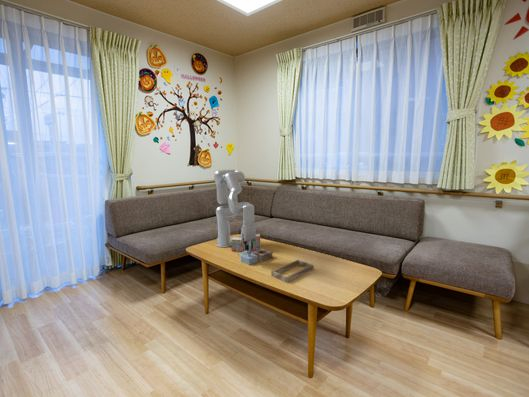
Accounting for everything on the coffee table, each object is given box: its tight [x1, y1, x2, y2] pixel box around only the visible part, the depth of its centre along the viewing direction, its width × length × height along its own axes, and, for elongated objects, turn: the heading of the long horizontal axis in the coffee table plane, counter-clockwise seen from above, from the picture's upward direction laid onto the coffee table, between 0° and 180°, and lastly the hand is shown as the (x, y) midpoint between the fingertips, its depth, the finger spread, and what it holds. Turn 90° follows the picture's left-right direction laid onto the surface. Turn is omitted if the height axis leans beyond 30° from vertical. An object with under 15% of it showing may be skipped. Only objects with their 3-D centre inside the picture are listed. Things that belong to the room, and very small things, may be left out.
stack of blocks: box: [230, 233, 261, 252], centre depth 208 cm, size 21×6×12 cm, turn 88°
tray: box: [237, 251, 252, 258], centre depth 197 cm, size 8×8×2 cm
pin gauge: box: [247, 240, 252, 255], centre depth 186 cm, size 3×3×10 cm
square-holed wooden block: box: [251, 248, 273, 262], centre depth 194 cm, size 10×10×4 cm
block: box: [240, 253, 259, 266], centre depth 187 cm, size 8×8×4 cm
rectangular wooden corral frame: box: [270, 259, 314, 283], centre depth 170 cm, size 12×25×3 cm, turn 135°
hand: (249, 249), depth 186 cm, fingers closed on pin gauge, 3 cm apart
